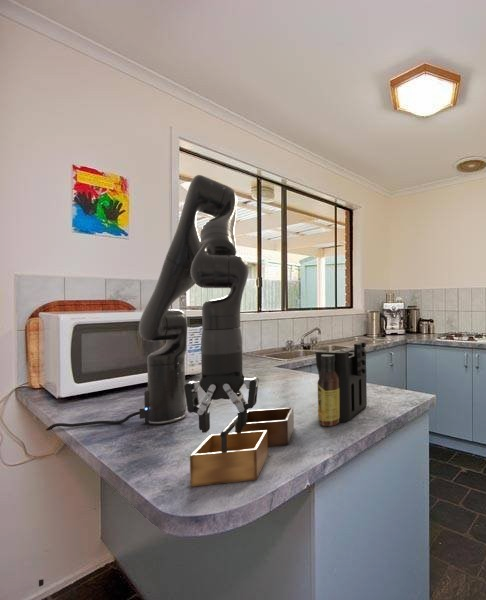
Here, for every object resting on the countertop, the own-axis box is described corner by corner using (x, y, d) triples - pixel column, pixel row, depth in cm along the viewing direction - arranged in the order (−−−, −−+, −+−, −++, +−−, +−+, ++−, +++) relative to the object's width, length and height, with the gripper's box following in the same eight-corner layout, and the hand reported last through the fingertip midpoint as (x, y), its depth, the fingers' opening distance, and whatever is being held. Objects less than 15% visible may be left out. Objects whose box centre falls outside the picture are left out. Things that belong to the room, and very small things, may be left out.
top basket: (190, 486, 63) (189, 434, 63) (210, 461, 72) (210, 416, 72) (256, 479, 65) (256, 428, 65) (268, 456, 75) (267, 411, 74)
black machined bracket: (314, 421, 95) (313, 346, 95) (346, 400, 115) (345, 338, 115) (351, 425, 92) (350, 347, 92) (377, 403, 111) (376, 338, 111)
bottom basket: (235, 449, 78) (235, 424, 78) (247, 432, 88) (247, 410, 88) (287, 444, 80) (287, 420, 80) (293, 429, 90) (293, 407, 90)
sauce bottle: (321, 419, 97) (320, 352, 97) (342, 418, 97) (341, 352, 97) (315, 427, 91) (314, 356, 90) (338, 427, 91) (337, 356, 91)
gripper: (262, 346, 73) (264, 420, 73) (192, 348, 71) (194, 425, 71) (253, 351, 66) (255, 434, 66) (175, 354, 63) (176, 440, 63)
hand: (223, 429), depth 68 cm, fingers open, 6 cm apart
